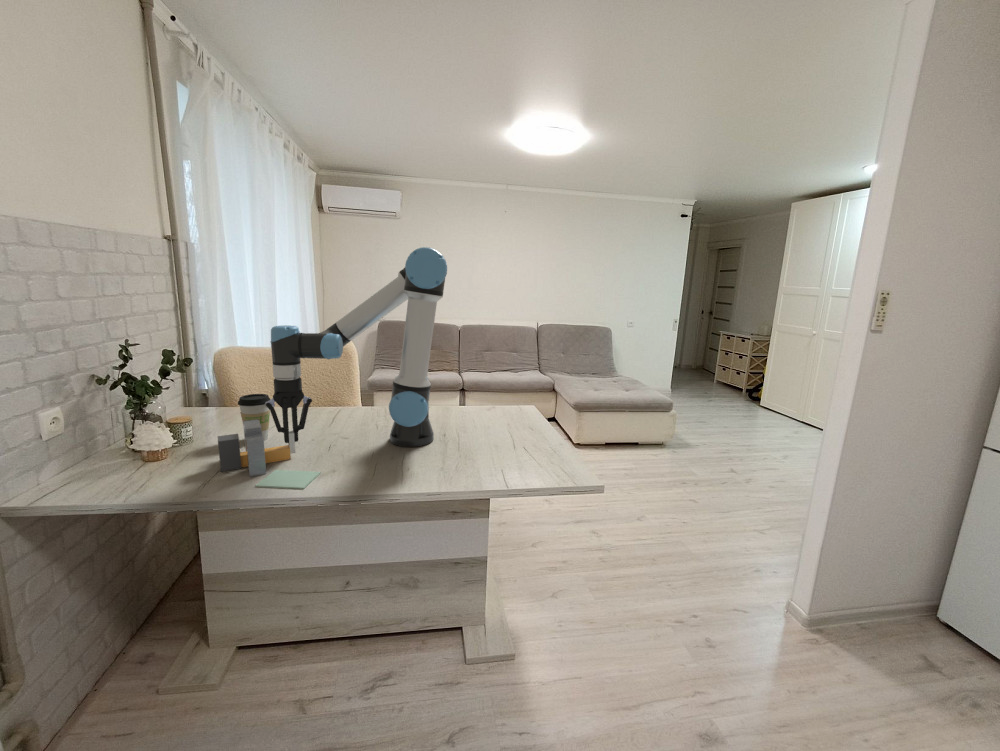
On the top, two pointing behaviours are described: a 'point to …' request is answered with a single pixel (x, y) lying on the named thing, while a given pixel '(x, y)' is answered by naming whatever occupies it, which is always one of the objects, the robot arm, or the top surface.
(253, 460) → the block
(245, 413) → the coffee cup
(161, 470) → the top surface
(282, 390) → the robot arm
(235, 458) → the plug
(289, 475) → the mat
